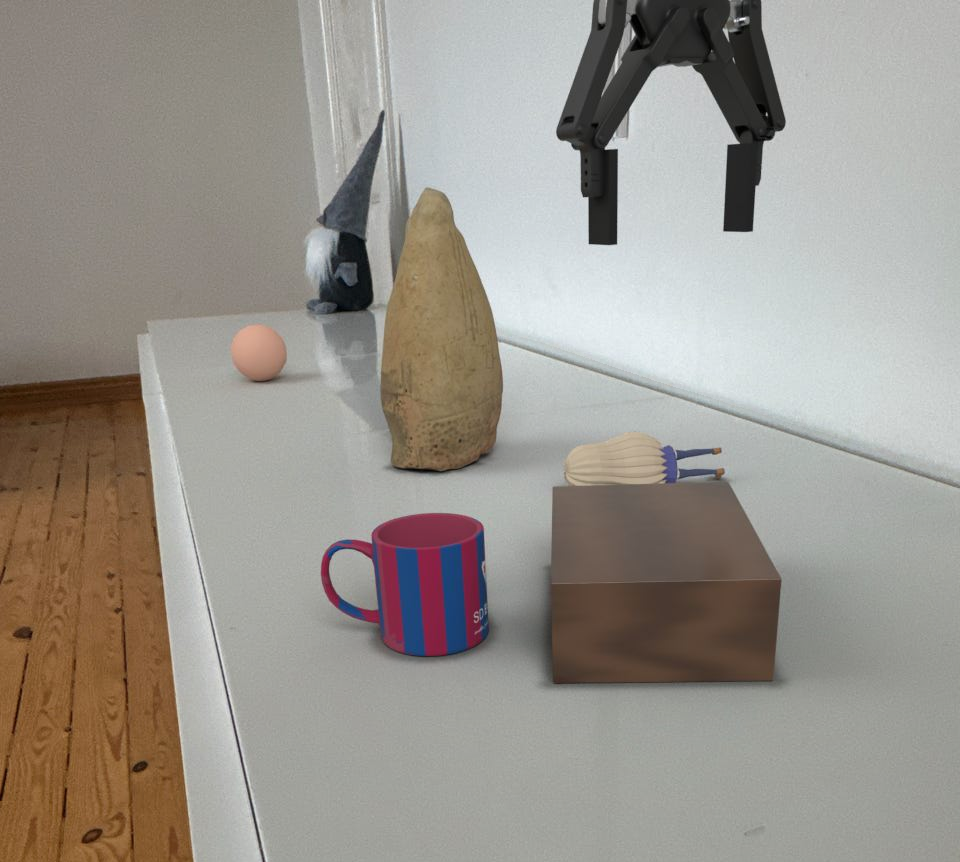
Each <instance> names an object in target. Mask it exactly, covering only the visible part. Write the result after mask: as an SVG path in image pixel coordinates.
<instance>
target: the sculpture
mask: <svg viewBox="0 0 960 862" xmlns="http://www.w3.org/2000/svg"><path fill="white" fill-rule="evenodd" d="M404 231H405V233H404V235H405V236H404V243H403V246H402V250H401V253H400V258H399V261H398V264H397V269H396V274H395V278H394V282H393V286H392V289H391V292H390V296H389V298H388V301H387V305H386V311H385V319H384V327H383V339H382V354H381V365H380V383H379V384H380V387H379V388H380V392H379V393H380V403H381V408H382V413H383V415H384V418H385V421H386V423H387V427H388V430H389V433H390V436H391V441H392V445H391V446H392V447H391V454H390V463H391V466H392V467H396V468H400V469H416V470H428V471H436V472H444V471H449V470H456V469H457V470H459V469H461V468H463V467H466V466H467V465H470V464H472V463H474V462H476V461H478V460H479V458H480V456H481V455H485V454H489V453H490V451H491V450H492V449H493V447H494V446H495V444H496V442H497V436H498V435H497V432H498V425H499V421H500V420H501V419H500V418H501V413H502V406H503V405H502V404H503V392H504V376H503V367H502V361H501V355H500V348H499V347H500V346H499V340H498V335H497V328H496V324H495V319H494V313H493V309H492V307H491V304H490V301H489V297H488V295H487V291H486V290H485V289H486V288H485V287H484V284H483V281H482V279H481V276H480V274H479V271H478V269H477V266H476V264H475V262H474V260H473V258H472V255H471V253H470V250H469V249H468V248H469V247H468V245H467V243H466V240H465V237H464V235H463V233H462V232H461V231H460V229H459V228H458V227H457V225H456V222H455V216H454V210H453V207H452V204H451V201H450V200H449V198H448V196H447V195H446V194H445V193H444V192H443V191H442V190H441V191H440V190H438V189H435V188H431V187H424V189H423V191H422V193H421V194H420V195H419V198H418V200H417V202H416V204H415V205H414V207H413V208H412V212H411V214H410V216H409V217H408V219H407V221H406V222H405V230H404Z"/></svg>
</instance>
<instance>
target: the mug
mask: <svg viewBox="0 0 960 862" xmlns="http://www.w3.org/2000/svg"><path fill="white" fill-rule="evenodd" d="M485 542H486V541H485V528H484V525H483V523H482V522H481V521H479V520H477V519H476V518H474V517H472V516H468V515H465V514H464V515H463V514H459V513H451V512H450V513H449V512H427V513H426V512H425V513H416V514H415V513H414V514H410V515H403V516H399V517H395V518H393V519H390V520H387V521H385V522H382V523H381V524H379V525H378V526H376V527H375V528H374V529H373V530H372V532H371V542H368V541H364V540H359V539H342V540H341V539H340V540H338V541H335V542H333V543H332V544H330V545H329V547H328V548H327V549H326V550H325V551H324V554H323V556H322V558H321V563H320V579H321V585H322V589H323V591H324V594H325V595H326V597H327V599H328V601H329V602H330V603H331V604H332V605H333V606H334V607H335V608H336V609H337V610H338V611H340V612H341V613H342V614H345V615H347V616H349V617H351V618H353V619H356V620H359V621H363V622H366V623H372V624H378V625H379V629H380V635H381V639H382V642H383V643H384V644H385V645H386V646H387V647H388V648H390V649H391V650H393V651H396V652H398V653H401V654H404V655H409V656H416V657H438V656H439V657H440V656H447V655H452V654H456V653H462V652H464V651H466V650H469V649H472V648H473V647H476V646H477V645H479V644H480V643H482V642H483V641H484V640H485V639H486V638H487V636H488V634H489V631H490V623H489V608H488V607H489V605H488V602H489V601H488V582H487V565H486V545H485ZM341 550H342V551H343V550H353V551H355V552H359V553H361V554H362V555H364V556H365V557H367V558H369V559H370V560H371V562H372V565H373V571H374V572H373V573H374V581H375V591H376V600H377V602H376V603H377V609H367V608H362V607H358V606H355V605H354V604H352V603H349V602H348V601H346V600H345V599H343V598H342V597H341V595H339V593H338V592H337V591H336V589H335V587H334V585H333V582H332V579H331V575H330V566H331V565H330V564H331V560H332V558H333V556H334V555H335V554H336V553H337V552H339V551H341Z"/></svg>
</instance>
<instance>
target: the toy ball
mask: <svg viewBox="0 0 960 862" xmlns="http://www.w3.org/2000/svg"><path fill="white" fill-rule="evenodd" d="M231 342H232V343H231V345H230V354H231V359H232V362H233V365H234V366H235V368H236V370H237V371H238V372H239V373H240V374H241V375H242V376H243V377H245V378H247V379H249V380H252V381H255V382H265V381H270V380H272V379H274V378H276V377H277V376H278V375H279V374H280V373H281V372H282V370H283V369H284V367H285V365H286V364H287V358H288V352H287V346H286V343H285V341H284V339H283V337H282V336H281V335H280V334H279V333H278V331H276V330H275V329H273V328H272V327H270V326H267V325H264V324H259V323H258V324H250V325H247V326H245V327H243V328H242V329H240V330H239V331H238V332H237V333H236V334H235V336H234V338H233V339H232V341H231Z"/></svg>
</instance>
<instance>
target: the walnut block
mask: <svg viewBox="0 0 960 862" xmlns="http://www.w3.org/2000/svg"><path fill="white" fill-rule="evenodd" d="M551 492H552V497H551V498H552V499H551V501H552V502H551V549H550V550H551V551H550V552H551V555H550V605H551V606H550V607H551V608H550V609H551V610H550V611H551V653H552V654H551V655H552V656H551V657H552V683H553V684H592V683H593V684H597V683H598V684H599V683H600V684H601V683H603V684H604V683H674V682H675V683H682V682H683V683H685V682H689V683H690V682H695V683H696V682H769V681H774V675H775V665H776V664H775V663H776V652H777V640H778V639H777V638H778V627H779V618H780V617H779V616H780V605H781V603H780V602H781V591H782V577H781V575H780V573H779V571H778V570H777V568H776V566H775V564H774V562H773V561H772V558H771V557H770V555H769V553H768V551H767V550H766V547H765V546H764V544H763V542H762V540H761V538H760V536H759V535H758V533H757V531H756V530H755V527H754V526H753V524H752V522H751V520H750V518H749V517H748V515H747V513H746V511H745V509H744V508H743V506H742V504H741V502H740V500H739V498H738V497H737V494H736V493H735V491H734V489H733V487H732V485H731V484H730V482H729V481H706V482H705V481H701V482H699V481H698V482H697V481H695V482H675V483H661V484H626V485H591V486H569V485H559V486H552V491H551Z"/></svg>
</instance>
